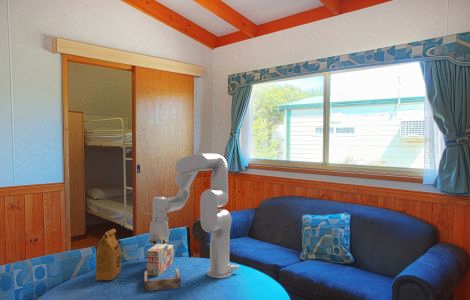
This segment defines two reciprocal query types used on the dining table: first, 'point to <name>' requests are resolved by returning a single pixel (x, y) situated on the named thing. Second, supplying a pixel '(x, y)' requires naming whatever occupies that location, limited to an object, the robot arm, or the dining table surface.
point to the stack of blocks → (159, 258)
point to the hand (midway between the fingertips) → (159, 252)
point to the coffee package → (108, 257)
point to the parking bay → (162, 282)
